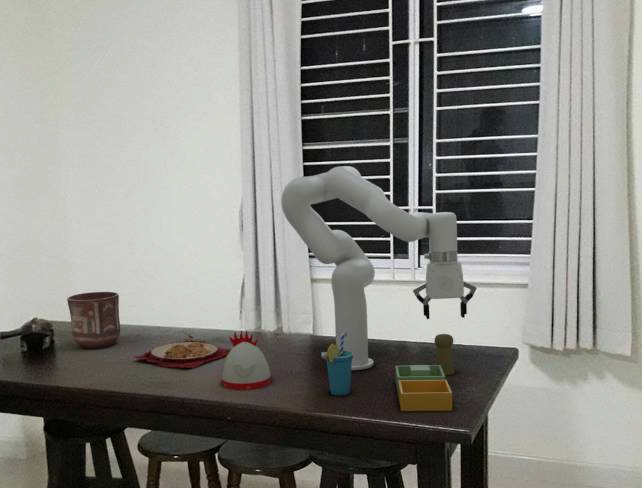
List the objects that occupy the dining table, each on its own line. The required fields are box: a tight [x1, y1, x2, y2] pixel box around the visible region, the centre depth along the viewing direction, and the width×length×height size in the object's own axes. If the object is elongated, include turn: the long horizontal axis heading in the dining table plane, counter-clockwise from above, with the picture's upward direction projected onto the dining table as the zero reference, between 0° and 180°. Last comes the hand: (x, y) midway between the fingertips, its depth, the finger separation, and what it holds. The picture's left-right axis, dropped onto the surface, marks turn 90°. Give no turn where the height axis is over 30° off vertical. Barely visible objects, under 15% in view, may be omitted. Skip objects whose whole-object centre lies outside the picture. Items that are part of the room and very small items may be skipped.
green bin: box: [394, 364, 446, 392], centre depth 204 cm, size 12×11×4 cm
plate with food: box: [133, 334, 232, 369], centre depth 249 cm, size 24×26×4 cm
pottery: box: [66, 291, 121, 350], centre depth 271 cm, size 18×18×18 cm
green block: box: [409, 364, 430, 376], centre depth 203 cm, size 5×5×5 cm
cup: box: [325, 333, 353, 396], centre depth 203 cm, size 14×8×15 cm, turn 159°
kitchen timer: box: [221, 330, 272, 390], centre depth 216 cm, size 14×14×15 cm
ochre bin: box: [397, 379, 453, 412], centre depth 190 cm, size 12×11×4 cm
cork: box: [433, 333, 456, 376], centre depth 216 cm, size 6×6×11 cm
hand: (445, 317), depth 214 cm, fingers open, 9 cm apart
